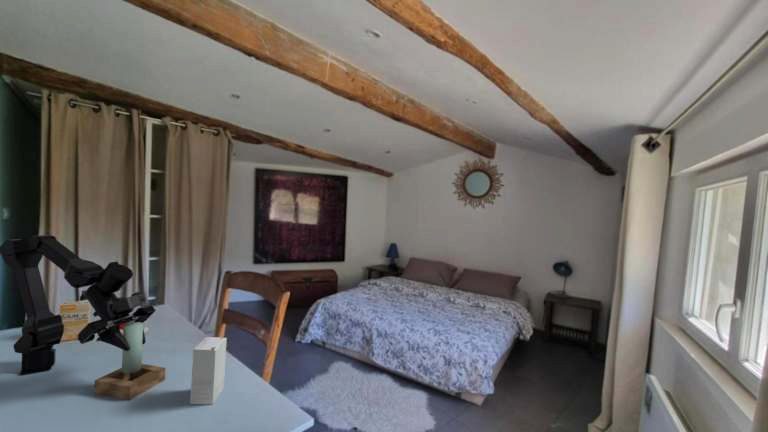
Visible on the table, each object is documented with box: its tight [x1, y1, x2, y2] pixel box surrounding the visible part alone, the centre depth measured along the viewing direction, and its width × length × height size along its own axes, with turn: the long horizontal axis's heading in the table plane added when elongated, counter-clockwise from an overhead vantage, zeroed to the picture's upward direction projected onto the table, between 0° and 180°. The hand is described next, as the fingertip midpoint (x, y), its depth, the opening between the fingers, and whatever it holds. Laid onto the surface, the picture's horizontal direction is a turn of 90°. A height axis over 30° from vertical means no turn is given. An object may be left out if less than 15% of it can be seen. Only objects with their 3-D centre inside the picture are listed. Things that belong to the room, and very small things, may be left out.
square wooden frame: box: [93, 363, 166, 401], centre depth 96 cm, size 11×11×4 cm
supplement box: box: [59, 300, 92, 342], centre depth 126 cm, size 8×5×13 cm, turn 123°
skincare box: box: [189, 336, 228, 405], centre depth 93 cm, size 8×6×15 cm
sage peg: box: [121, 322, 144, 373], centre depth 96 cm, size 4×4×12 cm
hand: (136, 346), depth 96 cm, fingers closed on sage peg, 4 cm apart
